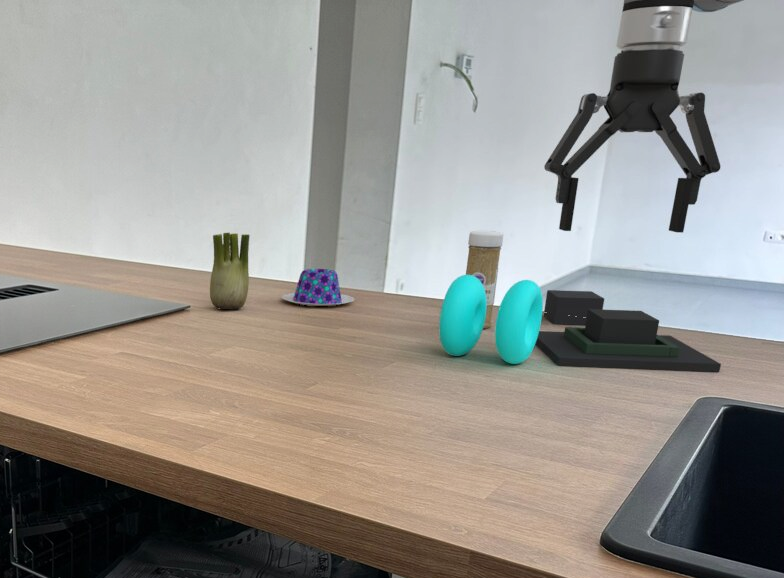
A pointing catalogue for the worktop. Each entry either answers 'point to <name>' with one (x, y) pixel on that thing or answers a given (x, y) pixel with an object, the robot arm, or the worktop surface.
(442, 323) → the donuts
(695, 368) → the base mat
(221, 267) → the fennel bulb
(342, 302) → the pudding
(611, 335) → the black rectangular block
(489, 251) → the sprinkles bottle
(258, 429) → the worktop surface
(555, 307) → the graphite pad
